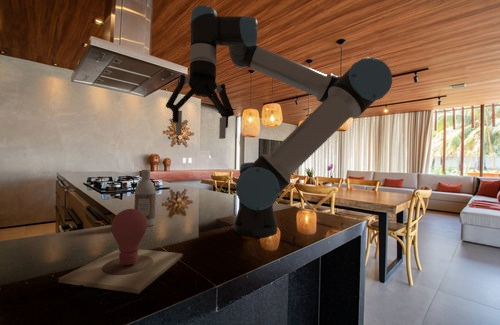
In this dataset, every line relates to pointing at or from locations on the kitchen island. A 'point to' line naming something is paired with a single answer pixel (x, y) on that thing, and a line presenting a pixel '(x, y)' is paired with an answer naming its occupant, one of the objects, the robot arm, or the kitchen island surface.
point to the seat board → (123, 271)
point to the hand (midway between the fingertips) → (201, 136)
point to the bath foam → (146, 197)
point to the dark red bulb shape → (129, 233)
